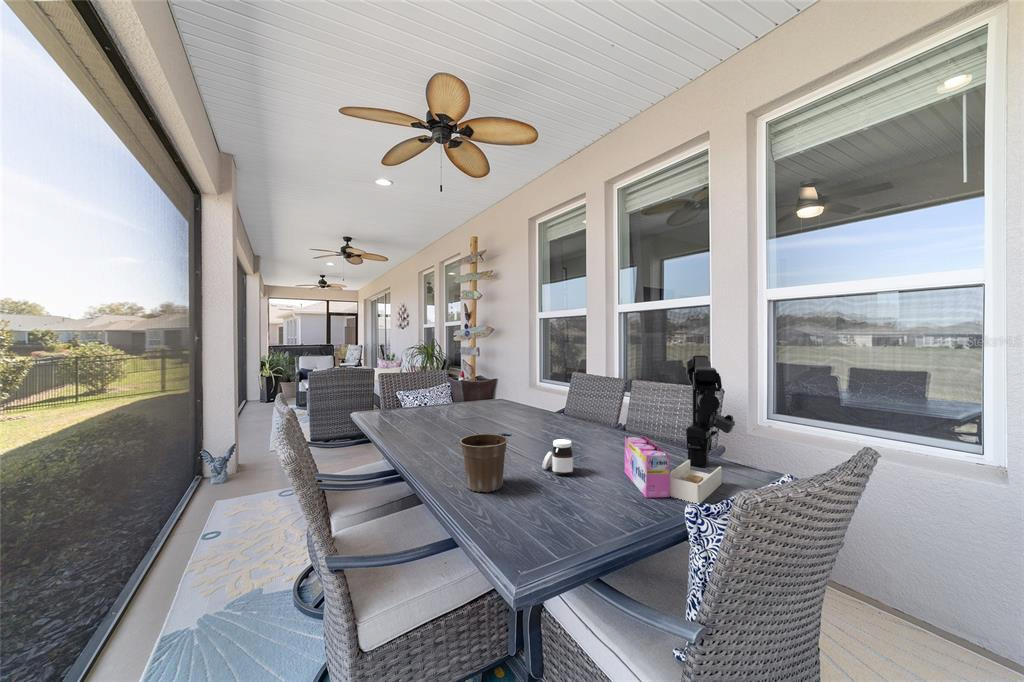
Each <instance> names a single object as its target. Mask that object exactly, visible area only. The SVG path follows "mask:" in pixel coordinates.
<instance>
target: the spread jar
mask: <svg viewBox="0 0 1024 682" xmlns="http://www.w3.org/2000/svg"><path fill="white" fill-rule="evenodd" d="M552 445H553V446H552V449H551V451H548V452H547V453H546V455H545V456H544V459H543V461H542V465H541V468H542V469H544V470H548V468H549V467H550V465H551V471H552V473H553V474H554V475H556V476H559V475H562V477H565V476H564V475H567V476H571V475H572V474H573V473H574V453H573V452H574V451H573V448H572V440H570V439H565V438H560V439H559V438H558V439H554V440H553V441H552Z"/></svg>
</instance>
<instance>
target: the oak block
mask: <svg viewBox="0 0 1024 682" xmlns="http://www.w3.org/2000/svg"><path fill="white" fill-rule="evenodd" d="M702 480H703V477H701V476H697V475H692V474H689V475H688V476H687V477H686V481H688V482H692V483H696V484H699V483H700V482H701V481H702Z"/></svg>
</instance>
